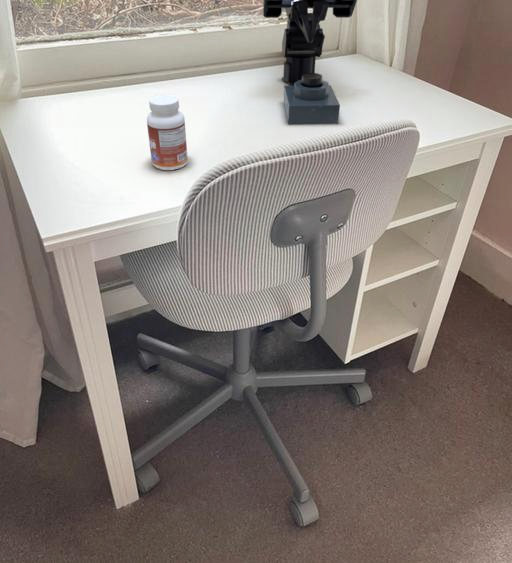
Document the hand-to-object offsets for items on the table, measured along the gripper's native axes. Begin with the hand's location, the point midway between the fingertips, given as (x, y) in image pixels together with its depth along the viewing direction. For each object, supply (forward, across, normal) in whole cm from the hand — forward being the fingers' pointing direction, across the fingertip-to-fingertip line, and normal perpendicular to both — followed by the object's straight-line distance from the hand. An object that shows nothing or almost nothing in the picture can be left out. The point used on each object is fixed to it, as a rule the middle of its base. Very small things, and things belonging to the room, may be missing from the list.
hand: (310, 41), depth 109 cm
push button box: (+13, 0, +5) cm, 14 cm away
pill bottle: (+30, -27, -12) cm, 42 cm away
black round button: (+9, 0, +1) cm, 9 cm away
